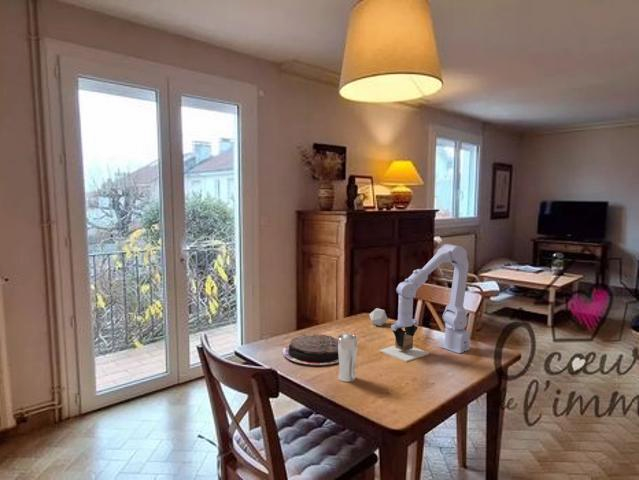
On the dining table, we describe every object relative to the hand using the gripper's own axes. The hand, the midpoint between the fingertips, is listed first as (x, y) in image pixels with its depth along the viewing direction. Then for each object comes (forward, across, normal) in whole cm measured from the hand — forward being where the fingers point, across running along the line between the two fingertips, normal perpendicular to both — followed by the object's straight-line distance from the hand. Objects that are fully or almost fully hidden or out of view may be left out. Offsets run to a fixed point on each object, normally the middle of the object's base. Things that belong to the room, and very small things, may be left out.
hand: (404, 344), depth 171 cm
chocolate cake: (+4, +29, -21) cm, 36 cm away
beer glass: (+4, +35, +4) cm, 35 cm away
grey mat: (+3, 0, 0) cm, 3 cm away
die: (+4, -19, -33) cm, 38 cm away
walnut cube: (+2, 0, 0) cm, 2 cm away
